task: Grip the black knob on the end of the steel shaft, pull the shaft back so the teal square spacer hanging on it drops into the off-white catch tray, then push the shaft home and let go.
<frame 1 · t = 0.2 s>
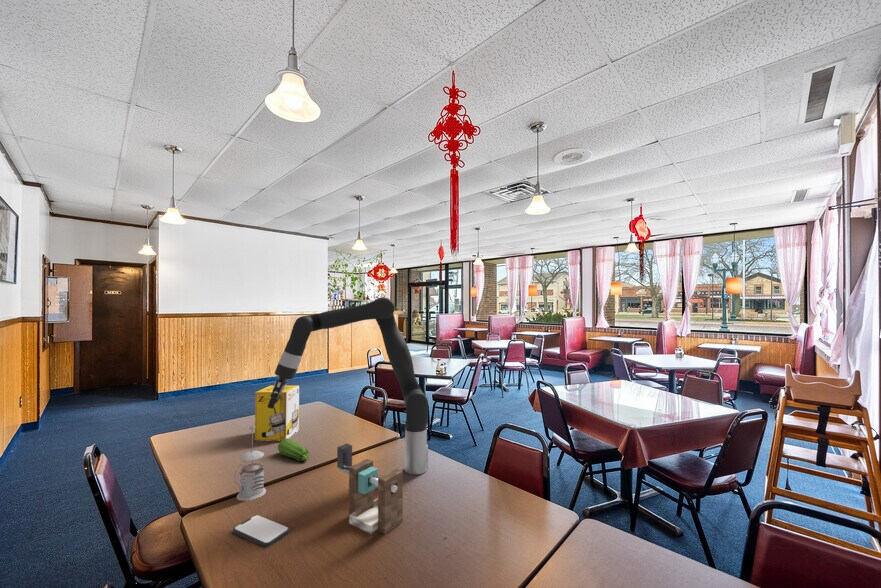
hand: (272, 404, 140), 31 cm above the table, tool tilted 20°, fingers open, 8 cm apart
packaging box: (277, 435, 195), on the table
french press: (249, 495, 133), on the table
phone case: (261, 533, 111), on the table
spacer: (368, 489, 120), point 8 cm above the table, touching shaft
vegetable: (294, 458, 167), on the table
bearing frame: (373, 518, 118), on the table
shaft: (367, 467, 121), point 16 cm above the table, slide at 0.0 cm, touching spacer
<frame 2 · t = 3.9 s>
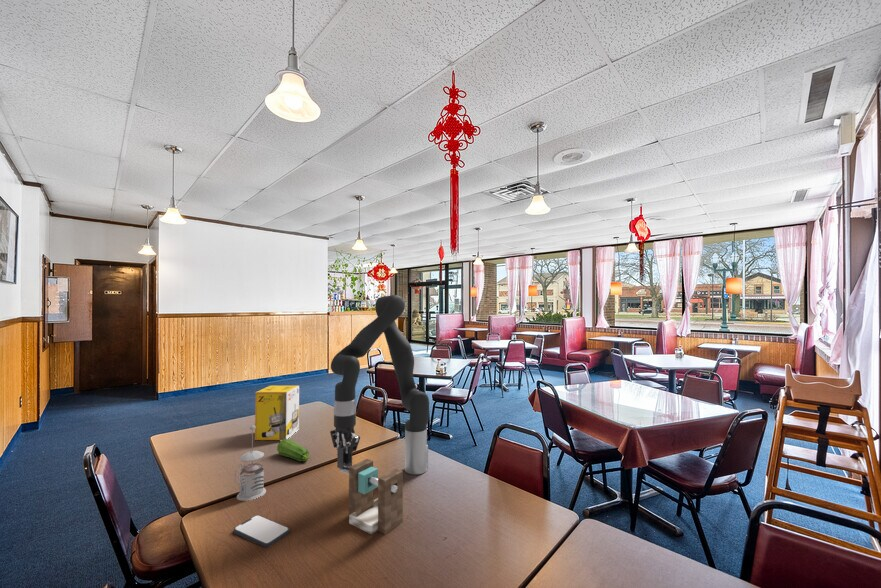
hand: (344, 461, 127), 15 cm above the table, tool pointing down, fingers closed on shaft, 3 cm apart
shaft: (367, 467, 121), point 16 cm above the table, slide at 0.0 cm, touching gripper, spacer
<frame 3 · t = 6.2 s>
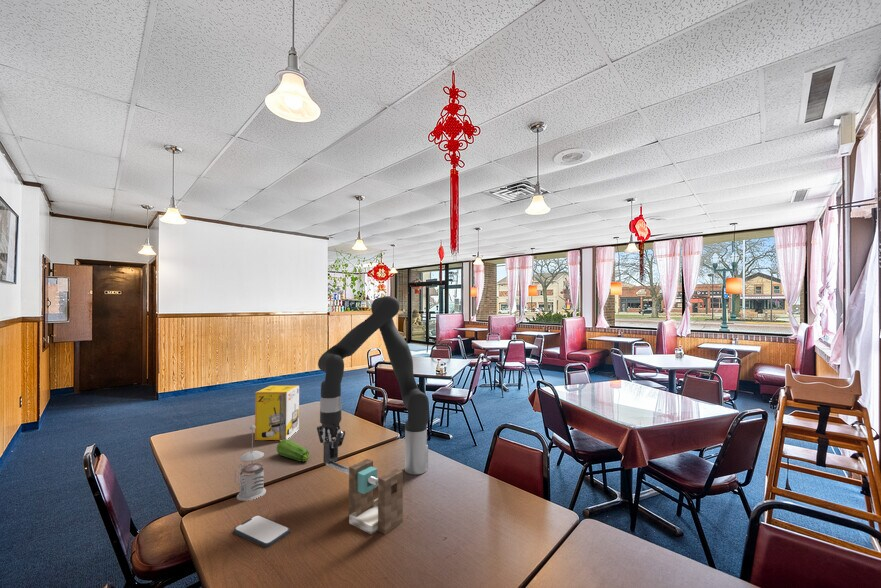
hand: (330, 456, 132), 15 cm above the table, tool pointing down, fingers closed on shaft, 3 cm apart
shaft: (351, 461, 125), point 16 cm above the table, slide at 7.7 cm, touching gripper, spacer
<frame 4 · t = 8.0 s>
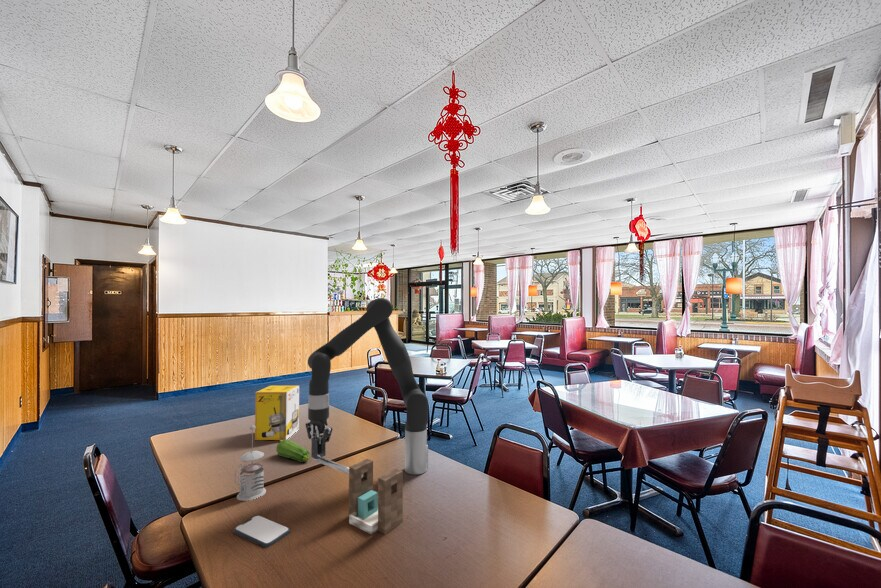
hand: (318, 452, 136), 15 cm above the table, tool pointing down, fingers closed on shaft, 3 cm apart
spacer: (367, 513, 120), point 1 cm above the table, touching bearing frame
shaft: (337, 456, 129), point 16 cm above the table, slide at 14.9 cm, touching gripper
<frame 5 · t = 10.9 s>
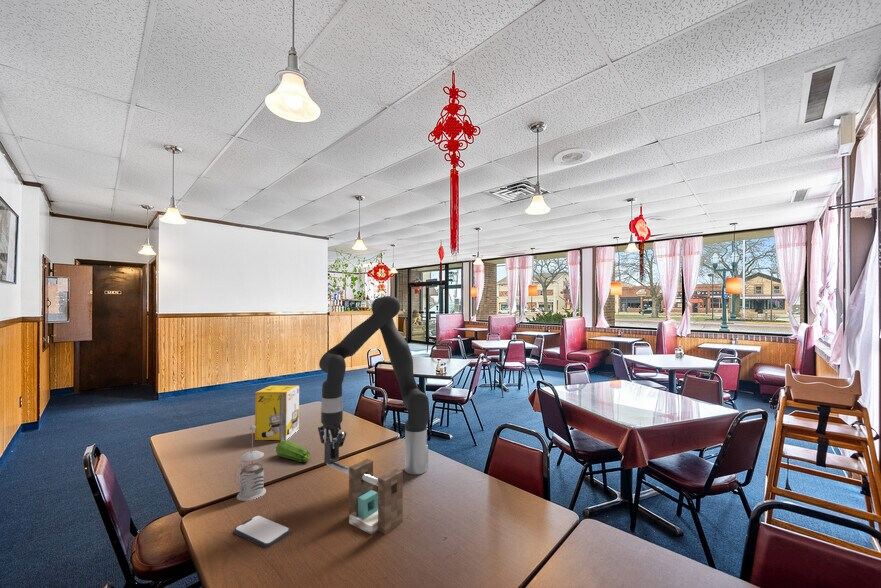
hand: (331, 456, 131), 15 cm above the table, tool pointing down, fingers closed on shaft, 3 cm apart
shaft: (352, 462, 125), point 16 cm above the table, slide at 7.2 cm, touching gripper
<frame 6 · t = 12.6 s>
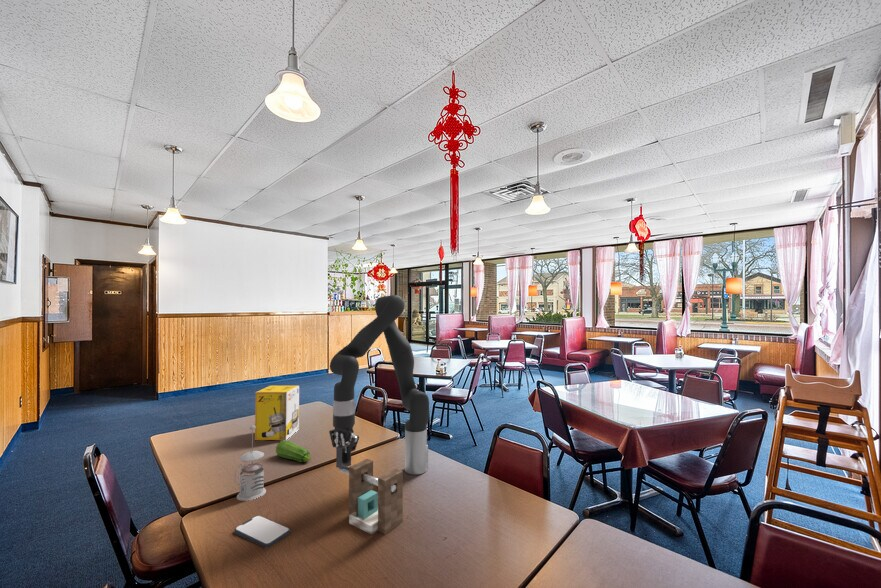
hand: (343, 461, 128), 15 cm above the table, tool pointing down, fingers closed on shaft, 3 cm apart
shaft: (365, 466, 121), point 16 cm above the table, slide at 0.5 cm, touching gripper
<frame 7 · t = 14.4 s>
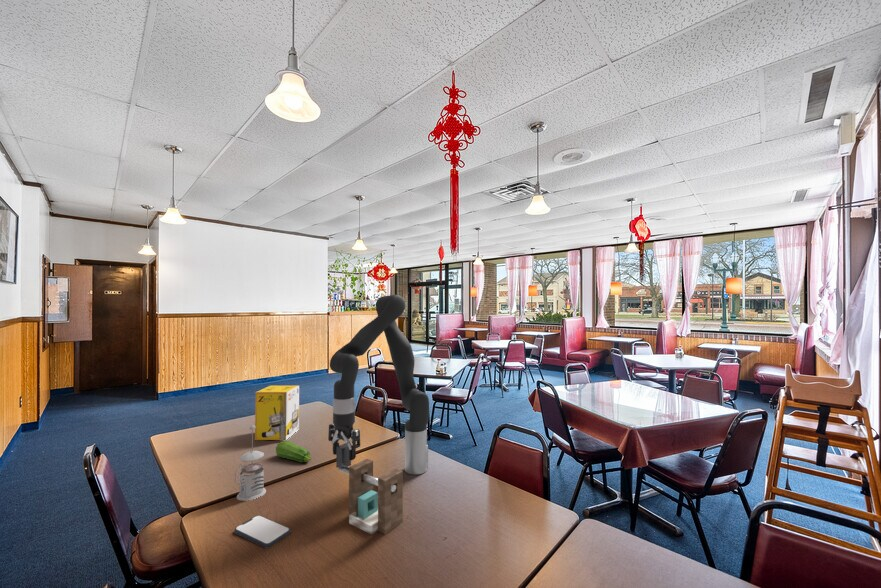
hand: (343, 456, 128), 16 cm above the table, tool pointing down, fingers open, 8 cm apart
shaft: (365, 467, 121), point 16 cm above the table, slide at 0.5 cm
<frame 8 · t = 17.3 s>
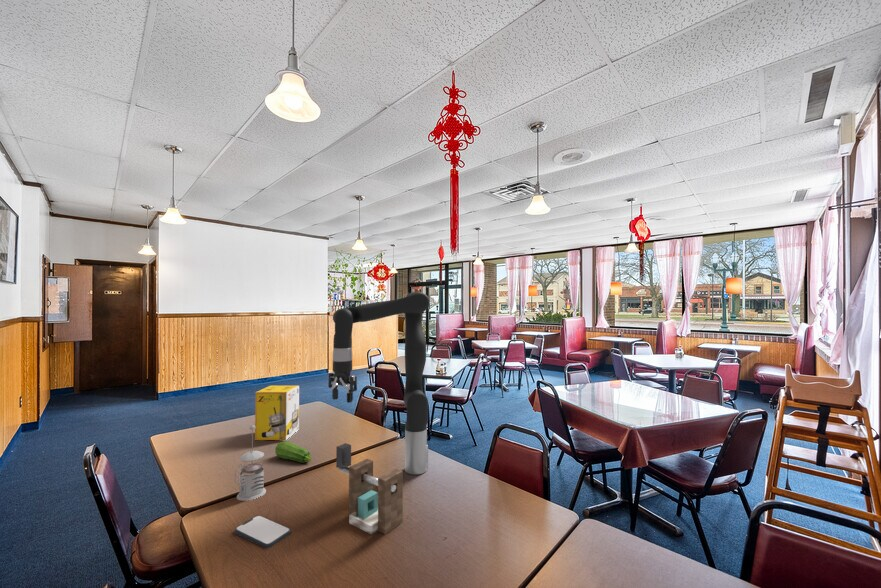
hand: (342, 400, 142), 32 cm above the table, tool pointing down, fingers open, 8 cm apart
at the end: spacer inside the target area on the bearing frame (3.8 cm from its centre), point 0.6 cm above the bearing frame's base; shaft slide at 0.5 cm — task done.
